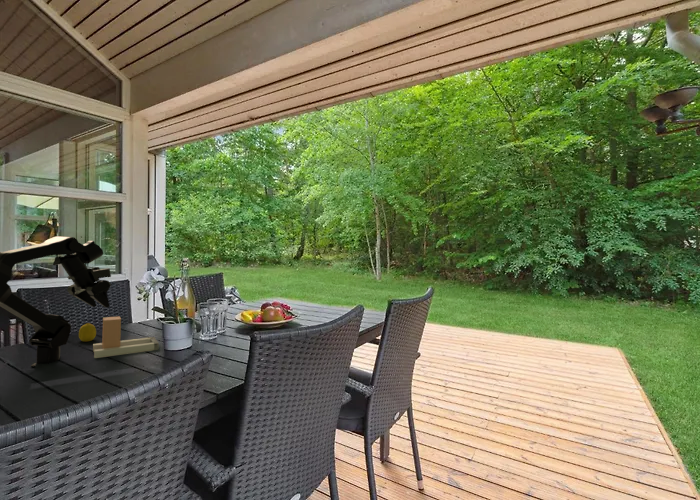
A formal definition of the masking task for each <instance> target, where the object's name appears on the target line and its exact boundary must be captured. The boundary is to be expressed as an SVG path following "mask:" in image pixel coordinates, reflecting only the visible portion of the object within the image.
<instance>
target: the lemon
mask: <svg viewBox="0 0 700 500" xmlns="http://www.w3.org/2000/svg"><path fill="white" fill-rule="evenodd" d="M95 337H97V328H96V326H95V325H94V324H92V323H90V322H87V323H84V324H83V325H82V326H80V328H79V330H78V338H79V340H80V341H81V342H84V343H85V342H91V341H93V340H94V339H95Z"/></svg>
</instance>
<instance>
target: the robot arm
mask: <svg viewBox="0 0 700 500" xmlns="http://www.w3.org/2000/svg"><path fill="white" fill-rule="evenodd" d="M103 255H104V250H103V248H101V246H100V245H98V244H97V243H95V240H88V241H86V242H85V243H83V244H82V242H79V240H78V239H77V238H75V237H74V236H58V235H57V236H53V237H51V238H48V239H47V240H44V241H43V242H42V243H38V244H34V245H29V246H24V247H20V248H15V249H10V250H5V251H0V307H1V308H2V309H4V310H5V311H7V312H9V313H10V314H12V315H14V316H16V317H17V318H18V319H21V320H22V321H24V322H25V323H27V324H29V325H31V326H32V327H33V330H34V332H35V333H34V334H33V335H32V336H31V337H30V338H29V340H28V342H29V344H30V346H35V347H36V362H35V363H33V364H31V365H30V367H32V368H35V367H36V365H38V364H41V365H42V364H43V365H44V364H50V363H53V362H57V361H60V360H61V346H65V345H67V343H68V340H69V337H70V334H71V332H72V331H71V330H72V324H70V320H67V319H65V318H64V317H63V316H62V315H60V314H59V315H58V314H52V313H51V314H49V313H45V312H44V313H43V312H42V311H41V310H39V309H37V307H35V306H33V305H32V304H30V303H29V302H28V301H26V300H24V299H22V298H21V297H20V296H18V295H16V294H14V292H13V291H12V288H11V286H10V284H8V282H9V281H10V279H11V278H12V273H13V267H14V266H15V265H18V264H22V263H25V262H30V261H32V260H37V259H41V258H45V257H49V256H56V257H54V261H53V263H52V265H53V266H57V265H61V267H62V268H63V269H64V270H65V272H66V274H67V275H68V276H67V279H68V280H71V281H72V283H73V284H71V285H69V286H67V290H66V292H68V294H69V295H70V296H73V297H75V298H76V299H78V300H80V301H82V302H83V303H86V304H87V305H88V306H91V307H92V308H95V307H97V303H99V304H100V305H102V306H103V307H104V308H106V309H107V308H110V301H109V299H108V298H109V297H108V291H109V289H110V288H111V287H112V284H111V282H110V281H109V280H106V279H105V278H111V277H112V275H111V269H110V268H100V267H98V266H95V267H92V268H90V267H89V268H88V267H87V265H88V264H90V263H92V262H94V261H96V260H97V259H100V258H101V257H102V256H103ZM49 339H50V340H49Z"/></svg>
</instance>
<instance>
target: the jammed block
mask: <svg viewBox="0 0 700 500" xmlns="http://www.w3.org/2000/svg"><path fill="white" fill-rule="evenodd" d="M121 327H122V318H121V317H120V315H119V316H109V317H108V316H107V317H106V316H105V317H102V334H101V335H102V336H101V337H102V339H101V341H102V342H101V343H102V349H105V348H113V347H120V341H121V338H122V337H121V333H122V330H121V329H122V328H121Z"/></svg>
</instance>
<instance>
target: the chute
mask: <svg viewBox="0 0 700 500" xmlns="http://www.w3.org/2000/svg"><path fill="white" fill-rule="evenodd" d="M159 346H160V345H159V342H158V340H157V339H156V337H154V336H153V337H152V336H150V337H141V338H135V339H124V340H120V347H113V348H105V349H102V342H99V343H93V344H92V352H93V353H94V354H93V358H94V359H100V358H107V357H114V356H120V355H127V354H128V355H129V354H136V353H144V352H150V351H158V350H159Z"/></svg>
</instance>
